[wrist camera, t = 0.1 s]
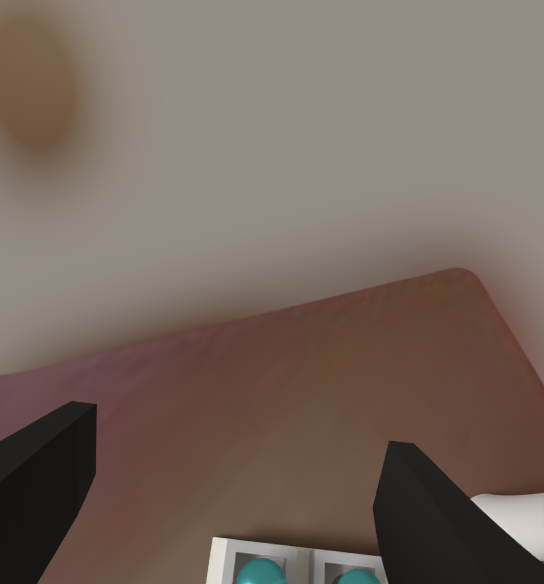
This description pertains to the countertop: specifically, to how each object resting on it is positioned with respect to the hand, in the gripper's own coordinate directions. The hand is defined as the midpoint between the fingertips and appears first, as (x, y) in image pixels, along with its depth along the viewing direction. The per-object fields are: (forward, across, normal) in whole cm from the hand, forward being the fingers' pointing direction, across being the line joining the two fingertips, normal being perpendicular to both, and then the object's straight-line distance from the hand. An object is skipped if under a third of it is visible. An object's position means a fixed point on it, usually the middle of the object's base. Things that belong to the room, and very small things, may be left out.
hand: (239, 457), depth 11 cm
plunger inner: (+16, -3, +24) cm, 29 cm away
